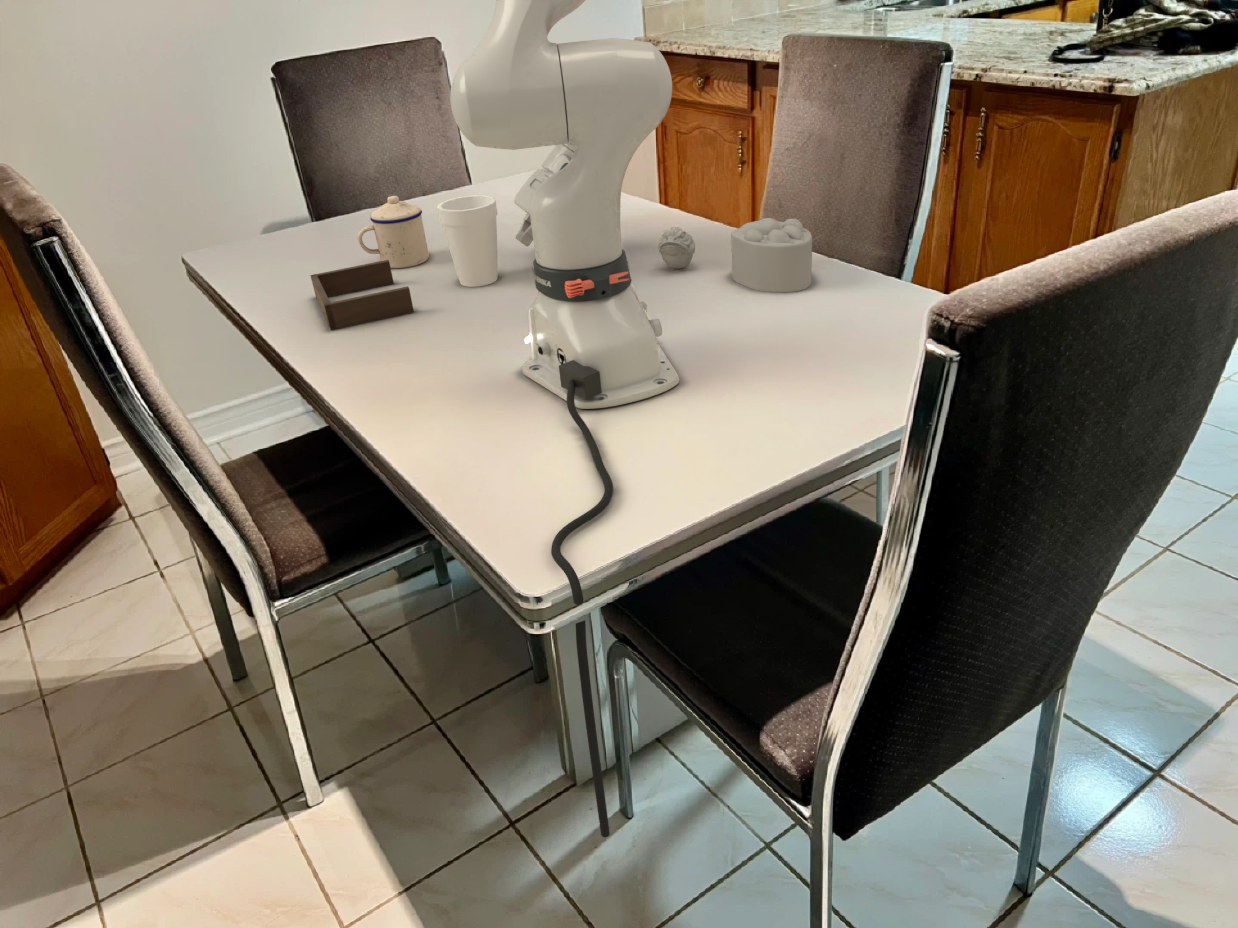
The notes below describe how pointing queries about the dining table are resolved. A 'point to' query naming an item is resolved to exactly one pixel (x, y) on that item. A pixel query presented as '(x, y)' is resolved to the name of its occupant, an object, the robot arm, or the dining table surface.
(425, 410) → the dining table surface
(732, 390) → the dining table surface
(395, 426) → the dining table surface
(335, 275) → the bay
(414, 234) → the teacup with lid
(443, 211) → the foam cup
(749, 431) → the dining table surface
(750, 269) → the lumpy-topped squat cylinder
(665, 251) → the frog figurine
